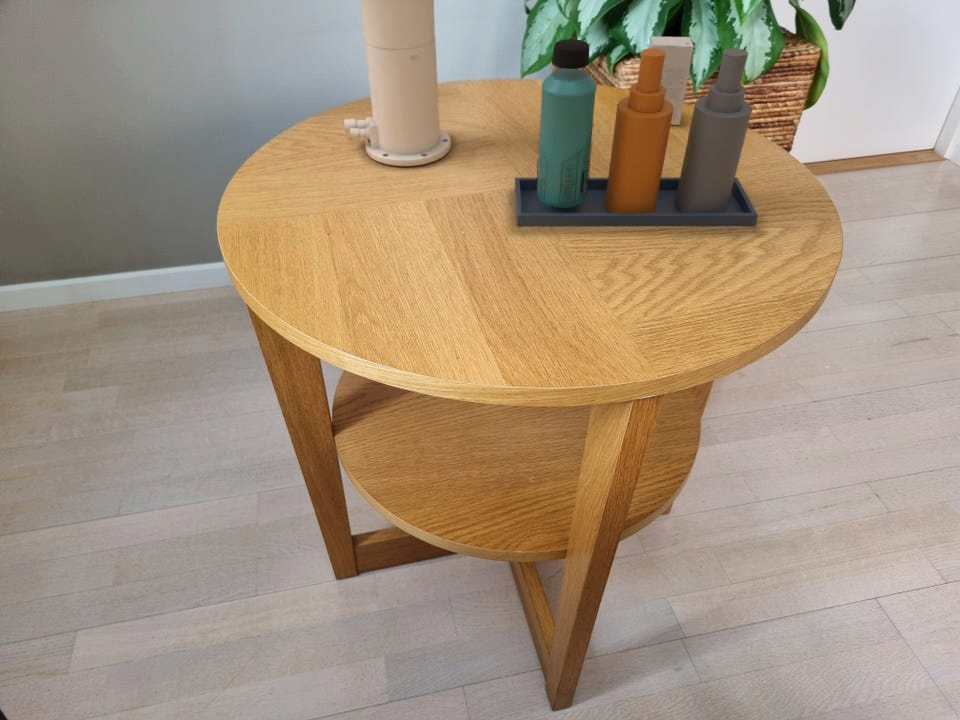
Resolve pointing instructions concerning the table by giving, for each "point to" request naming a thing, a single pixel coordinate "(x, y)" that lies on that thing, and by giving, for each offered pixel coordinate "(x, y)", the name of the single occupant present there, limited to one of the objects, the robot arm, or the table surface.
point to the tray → (596, 214)
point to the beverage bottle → (566, 127)
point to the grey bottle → (715, 140)
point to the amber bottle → (640, 140)
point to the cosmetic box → (675, 70)
